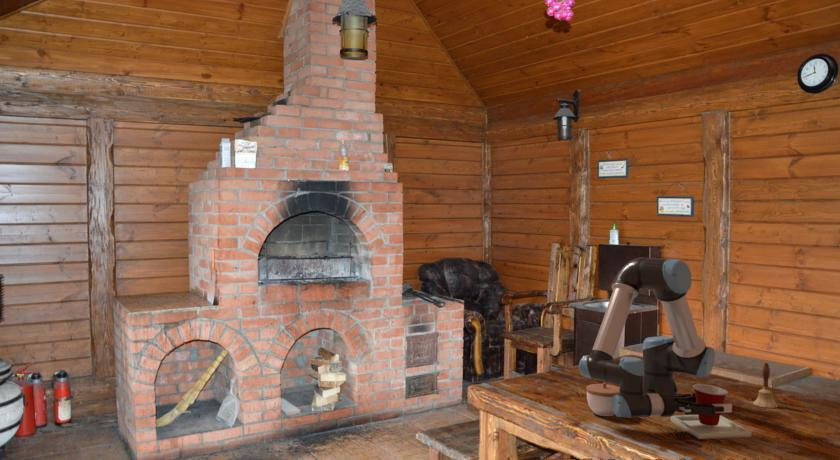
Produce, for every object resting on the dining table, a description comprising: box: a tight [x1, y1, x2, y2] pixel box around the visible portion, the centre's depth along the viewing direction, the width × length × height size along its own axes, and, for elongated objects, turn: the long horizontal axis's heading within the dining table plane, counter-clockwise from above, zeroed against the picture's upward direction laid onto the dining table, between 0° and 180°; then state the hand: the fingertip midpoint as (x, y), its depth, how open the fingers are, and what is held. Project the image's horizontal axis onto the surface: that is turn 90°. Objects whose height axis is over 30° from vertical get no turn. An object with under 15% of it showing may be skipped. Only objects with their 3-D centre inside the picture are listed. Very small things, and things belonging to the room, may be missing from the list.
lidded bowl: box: [585, 382, 620, 417], centre depth 229 cm, size 13×13×11 cm
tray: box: [670, 414, 752, 440], centre depth 213 cm, size 18×18×2 cm
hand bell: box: [752, 362, 779, 409], centre depth 241 cm, size 8×8×16 cm
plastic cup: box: [692, 383, 729, 426], centre depth 213 cm, size 11×11×12 cm
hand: (722, 403), depth 213 cm, fingers closed on plastic cup, 9 cm apart
